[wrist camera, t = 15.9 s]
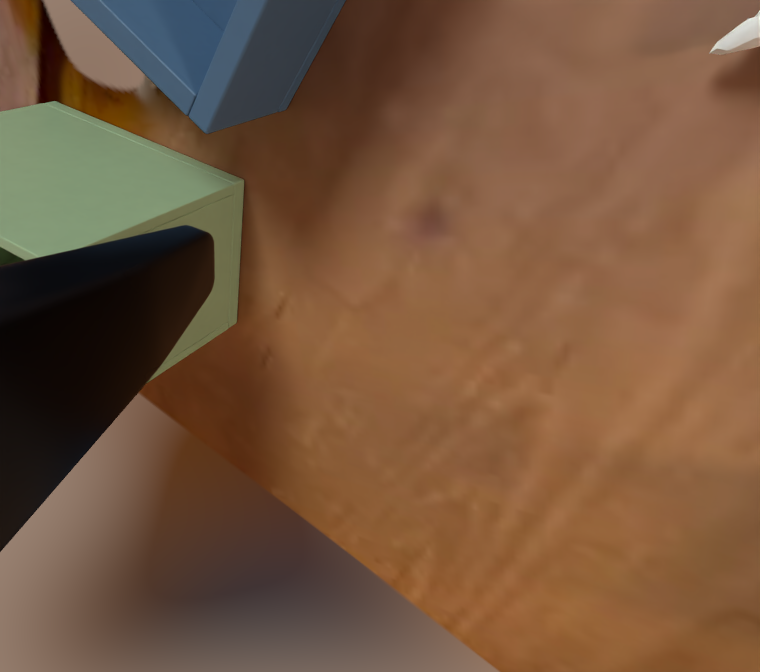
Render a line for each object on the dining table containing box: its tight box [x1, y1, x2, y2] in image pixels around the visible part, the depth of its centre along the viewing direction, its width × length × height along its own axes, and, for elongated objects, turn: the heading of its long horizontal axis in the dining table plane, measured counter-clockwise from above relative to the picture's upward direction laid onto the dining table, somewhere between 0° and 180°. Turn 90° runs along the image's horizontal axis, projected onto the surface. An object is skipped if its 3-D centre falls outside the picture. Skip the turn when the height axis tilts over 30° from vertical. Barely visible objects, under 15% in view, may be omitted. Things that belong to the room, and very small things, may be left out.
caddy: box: [0, 101, 244, 383], centre depth 25 cm, size 10×7×8 cm, turn 78°
